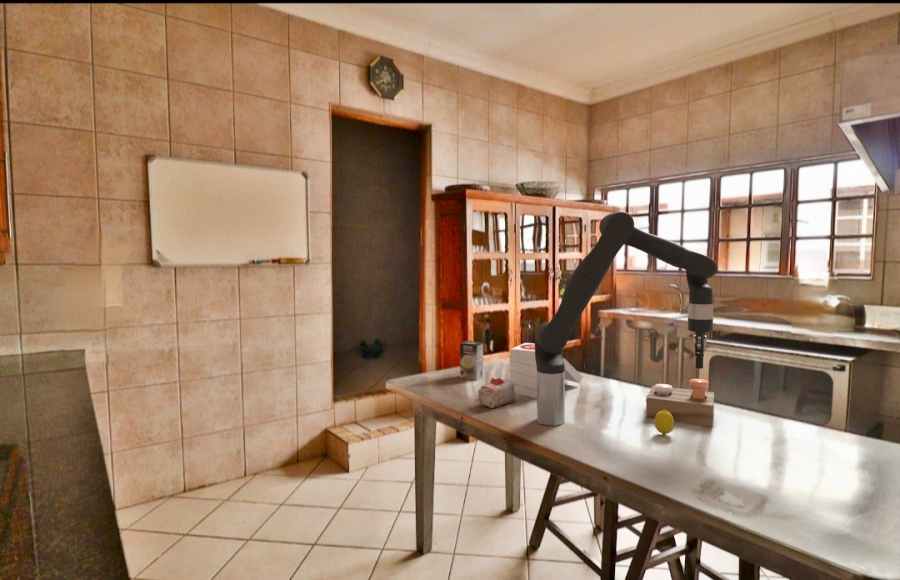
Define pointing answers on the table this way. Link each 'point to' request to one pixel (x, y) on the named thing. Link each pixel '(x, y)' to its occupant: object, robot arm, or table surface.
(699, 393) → the terracotta plunger
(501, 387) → the food item
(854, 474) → the table surface
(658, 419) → the lemon
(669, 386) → the white rounded piece
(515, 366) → the pizza boxes
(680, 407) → the walnut block
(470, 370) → the coffee box
